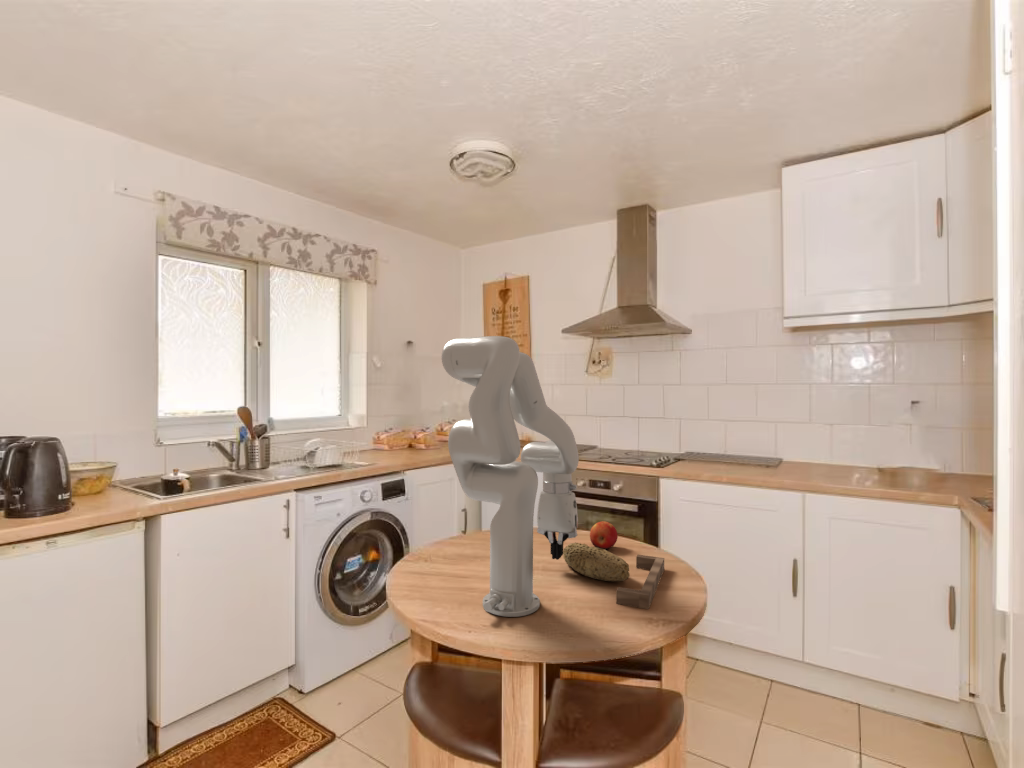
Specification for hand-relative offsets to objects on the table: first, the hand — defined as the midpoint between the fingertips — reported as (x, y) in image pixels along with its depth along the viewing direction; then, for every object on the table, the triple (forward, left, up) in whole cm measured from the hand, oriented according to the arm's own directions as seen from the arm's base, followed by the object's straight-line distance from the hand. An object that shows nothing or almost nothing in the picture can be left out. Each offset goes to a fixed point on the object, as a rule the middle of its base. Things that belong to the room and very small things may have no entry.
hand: (556, 557), depth 133 cm
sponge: (+2, -10, -4) cm, 11 cm away
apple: (+24, -6, -4) cm, 25 cm away
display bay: (0, -22, -4) cm, 22 cm away
